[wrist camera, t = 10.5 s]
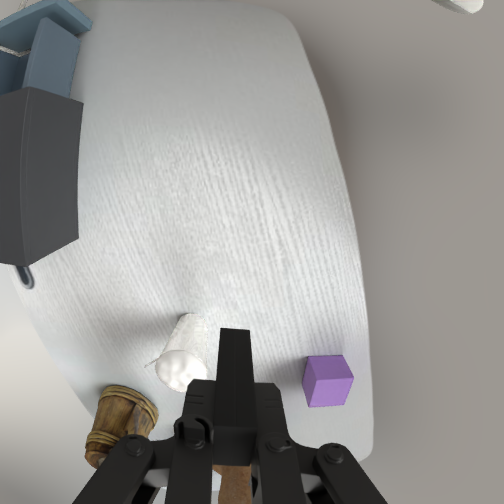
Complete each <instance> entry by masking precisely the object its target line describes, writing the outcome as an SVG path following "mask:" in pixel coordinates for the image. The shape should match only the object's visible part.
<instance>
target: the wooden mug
mask: <svg viewBox="0 0 504 504" xmlns="http://www.w3.org/2000/svg"><path fill="white" fill-rule="evenodd" d="M158 416H159V415H158V410H157V408H156V407H155V406H154V404H153V403H151V402H150V401H149V400H148V399H147V398H146V397H145V396H143V395H142V394H141V393H139V392H137V391H135V390H133V389H130V388H127V387H124V386H118V385H115V386H110V387H107V388H106V389H105V390H104V391H103V393H102V395H101V397H100V399H99V402H98V410H97V413H96V417H95V420H94V424H93V428H92V431H91V432H90V433H89V435H88V437H87V441H86V446H85V448H86V453H85V459H86V460H87V461H88V463H89V464H90V465H91V466H92V467H94V468H96V469H98V468H99V466H100V465H101V463H102V462H103V461H104V459H105V458H106V457H107V455H108V454H109V453H110V451H111V450H112V448H113V447H114V446H115V444H116V443H117V442H118V440H119V439H121V438H122V437H123V436H126V435H128V434H138V435H143V436H144V437H146V438H147V437H148V435H149V433H150V431H152V430H153V429H154V427H155V424H156V422H157V420H158Z"/></svg>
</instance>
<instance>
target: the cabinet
mask: <svg viewBox="0 0 504 504" xmlns="http://www.w3.org/2000/svg"><path fill="white" fill-rule="evenodd" d="M82 112H83V103H81V102H78V101H75V100H72V99H69V98H66V97H63V96H60V95H57V94H54V93H51V92H48V91H45V90H41V89H38V88H34V87H31V86H28V87H25V88H22V89H19V90H16V91H13V92H10V93H7V94H4V95H1V96H0V263H4V264H10V265H17V266H24V267H27V266H29V265H31V264H33V263H34V262H36V261H38V260H40V259H41V258H43V257H45V256H47V255H49V254H50V253H52V252H54V251H56V250H58V249H60V248H62V247H63V246H65V245H67V244H69V243H71V242H73V241H75V240H77V239H79V235H78V209H77V180H78V155H79V141H80V130H81V120H82Z"/></svg>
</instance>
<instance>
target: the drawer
mask: <svg viewBox="0 0 504 504" xmlns="http://www.w3.org/2000/svg"><path fill="white" fill-rule="evenodd" d="M27 1H28V0H22V2H21V4H20V7H19V9H18V11H17V12H16V13H14V14H12V15H10V16H8V17H7V18H5V19H3V20H1V21H0V46H3V47H5V48H8V49H11V50H13V51H16V52H18V53H20V52H23V51H25V50H28V49H31V52H30V53H29V54H27V55H24V56H22V57H17V56H15V55H12V54H10V53H7V52H4V51H1V50H0V96H1V95H4V94H7V93H10V92H13V91H16V90H19V89H22V88H25V87H28V86H31V87H34V88H38V89H41V90H45V91H48V92H51V93H54V94H57V95H60V96H63V97H66V98H69V95H70V89H71V83H72V78H73V73H74V68H75V63H76V59H77V55H78V51H79V47H80V43H81V40H80V39H78V38H77V37H75V36H74V34H78V33H81V32H85V31H90V30H91V26H92V23H93V22H92V21H91V20H90V19H89V18H88V17H86V16H85V15H84V14H83V13H82V12H81V11H80V10H78V9H77V8H76V7H75V6H74V5H73V4H71V3H70V2H69V1H68V0H42V1H39V2H37V3H35V4H33V5H30V6H28V7H26V8H25V6H26V3H27Z"/></svg>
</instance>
